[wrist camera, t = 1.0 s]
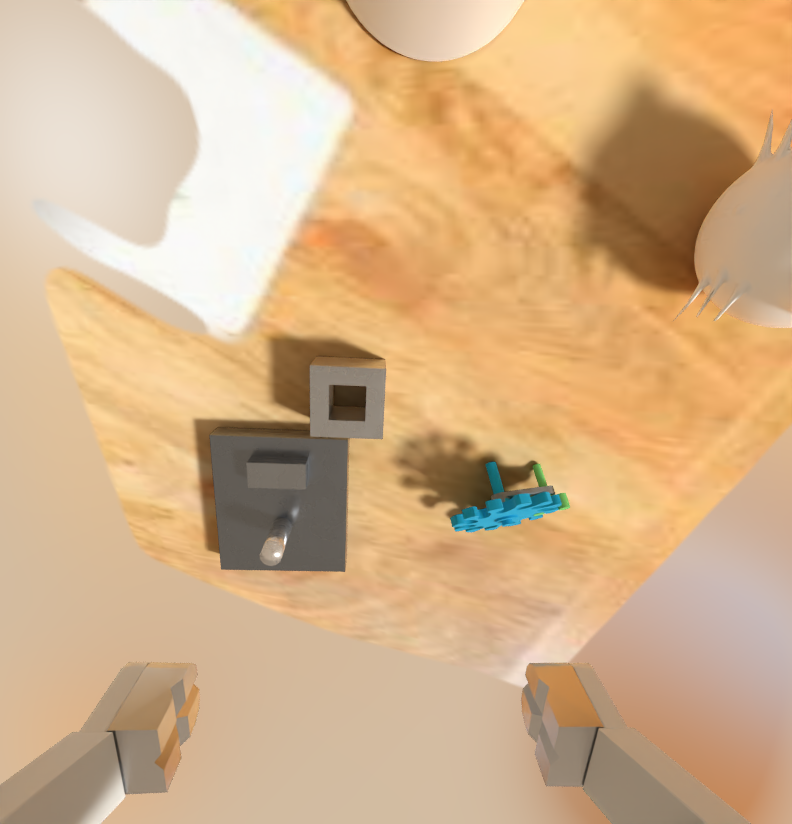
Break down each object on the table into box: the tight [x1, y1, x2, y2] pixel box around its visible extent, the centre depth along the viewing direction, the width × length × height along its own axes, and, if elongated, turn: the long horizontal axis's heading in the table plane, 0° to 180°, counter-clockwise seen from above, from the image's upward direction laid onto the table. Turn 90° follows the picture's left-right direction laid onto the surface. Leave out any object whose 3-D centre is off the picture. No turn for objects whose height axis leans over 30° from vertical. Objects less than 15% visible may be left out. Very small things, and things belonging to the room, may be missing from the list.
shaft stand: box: [209, 427, 349, 572], centre depth 37 cm, size 14×12×6 cm
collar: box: [310, 356, 386, 439], centre depth 36 cm, size 6×6×4 cm
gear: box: [450, 462, 570, 532], centre depth 39 cm, size 11×6×10 cm
